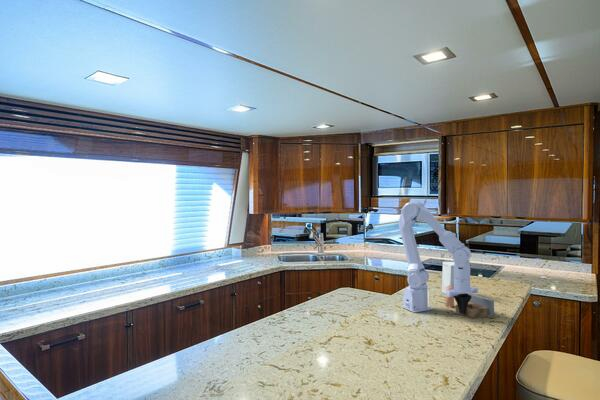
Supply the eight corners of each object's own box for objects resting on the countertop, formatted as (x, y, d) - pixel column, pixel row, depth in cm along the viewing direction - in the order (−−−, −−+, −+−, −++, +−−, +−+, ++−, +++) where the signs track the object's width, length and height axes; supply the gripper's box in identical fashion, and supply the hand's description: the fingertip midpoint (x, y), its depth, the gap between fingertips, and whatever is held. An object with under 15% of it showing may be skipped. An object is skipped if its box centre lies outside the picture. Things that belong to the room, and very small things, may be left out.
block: (472, 318, 136) (472, 310, 136) (455, 312, 143) (455, 304, 143) (487, 315, 139) (487, 307, 139) (470, 309, 146) (470, 302, 146)
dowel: (450, 307, 149) (450, 288, 149) (444, 305, 152) (444, 286, 152) (455, 306, 150) (455, 287, 150) (450, 304, 153) (450, 286, 153)
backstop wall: (490, 316, 138) (490, 300, 138) (469, 308, 147) (469, 294, 147) (494, 315, 138) (493, 300, 138) (472, 308, 148) (472, 293, 148)
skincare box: (441, 292, 172) (441, 261, 172) (453, 292, 173) (453, 261, 173) (450, 297, 164) (450, 264, 164) (463, 296, 164) (462, 264, 164)
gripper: (455, 282, 132) (456, 318, 133) (484, 278, 138) (484, 313, 138) (441, 278, 139) (441, 313, 139) (469, 274, 144) (469, 308, 144)
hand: (462, 313), depth 139 cm, fingers closed
